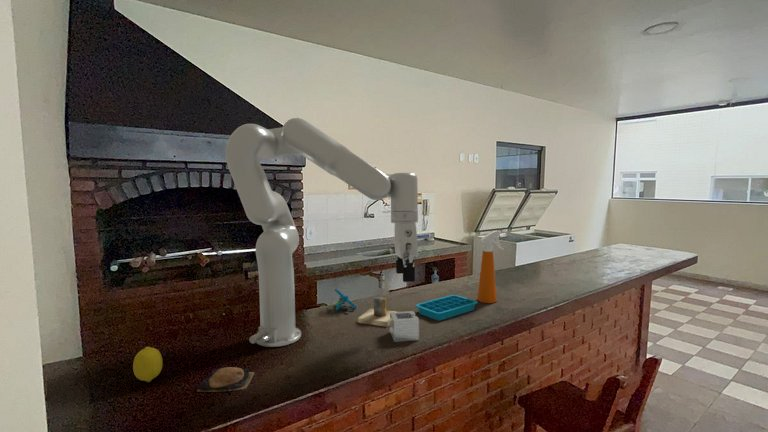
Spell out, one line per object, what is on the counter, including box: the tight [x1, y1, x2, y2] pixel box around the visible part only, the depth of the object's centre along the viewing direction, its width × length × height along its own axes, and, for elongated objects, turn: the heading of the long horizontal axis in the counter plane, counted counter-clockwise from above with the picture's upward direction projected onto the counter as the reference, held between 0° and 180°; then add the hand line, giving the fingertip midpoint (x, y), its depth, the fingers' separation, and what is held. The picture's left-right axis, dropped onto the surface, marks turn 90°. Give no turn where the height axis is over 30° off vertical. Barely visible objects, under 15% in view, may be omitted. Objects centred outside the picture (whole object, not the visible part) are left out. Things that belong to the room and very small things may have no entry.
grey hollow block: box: [389, 310, 420, 343], centre depth 107 cm, size 7×7×6 cm
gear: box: [334, 288, 357, 311], centre depth 131 cm, size 11×6×10 cm
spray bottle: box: [476, 230, 505, 304], centre depth 140 cm, size 7×11×26 cm, turn 112°
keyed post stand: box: [357, 296, 396, 328], centre depth 121 cm, size 10×10×7 cm
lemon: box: [132, 346, 163, 383], centre depth 82 cm, size 6×6×8 cm
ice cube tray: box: [415, 294, 479, 321], centre depth 129 cm, size 12×20×3 cm, turn 128°
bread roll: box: [196, 366, 255, 393], centre depth 83 cm, size 11×8×4 cm
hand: (405, 277), depth 106 cm, fingers open, 9 cm apart
